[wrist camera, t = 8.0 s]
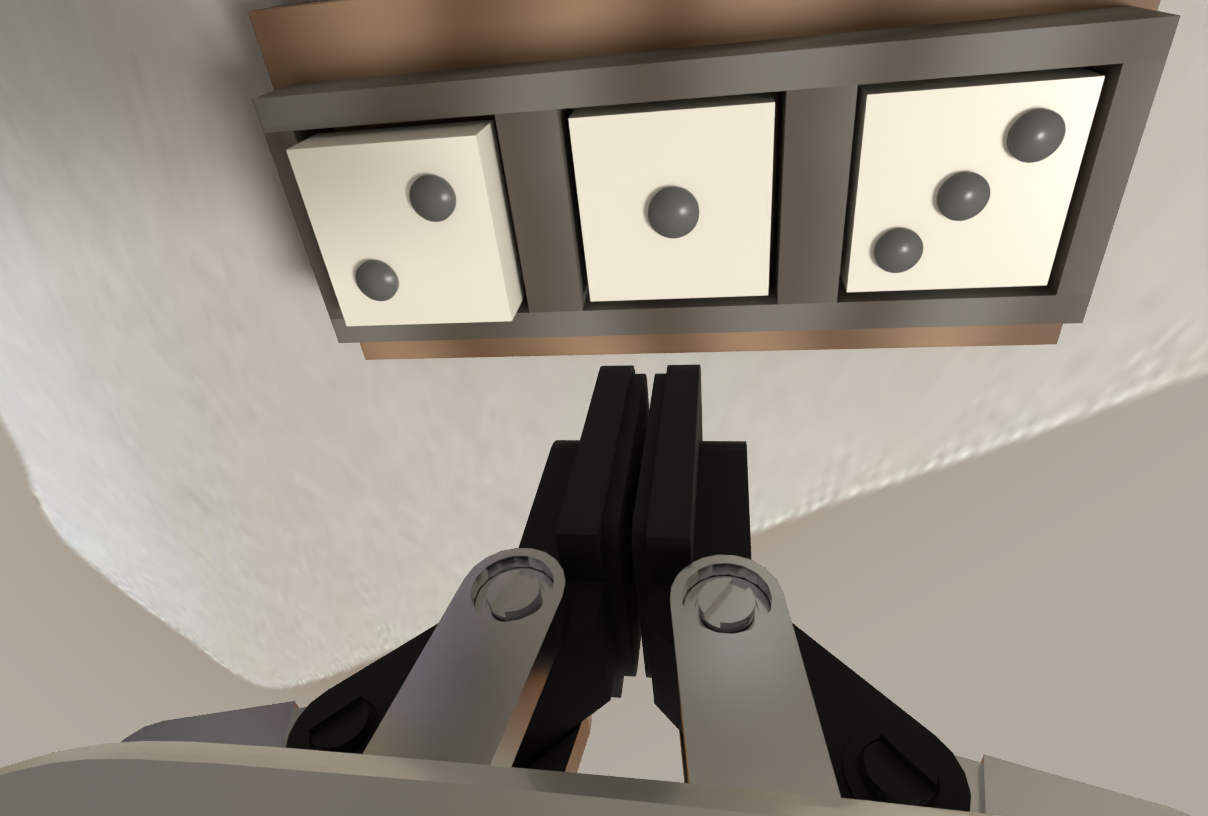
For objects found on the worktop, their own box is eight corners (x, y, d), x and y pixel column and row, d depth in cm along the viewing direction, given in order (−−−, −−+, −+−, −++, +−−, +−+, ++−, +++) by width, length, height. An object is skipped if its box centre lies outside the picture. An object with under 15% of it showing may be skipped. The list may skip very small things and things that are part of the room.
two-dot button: (493, 119, 22) (473, 137, 20) (524, 295, 25) (510, 323, 23) (316, 133, 23) (282, 151, 21) (369, 301, 26) (344, 329, 24)
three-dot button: (1072, 63, 20) (1108, 77, 18) (1023, 260, 23) (1049, 288, 22) (855, 81, 21) (868, 96, 19) (837, 267, 24) (847, 294, 23)
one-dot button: (770, 88, 21) (775, 103, 20) (764, 270, 25) (768, 297, 23) (578, 104, 22) (567, 120, 21) (598, 277, 26) (589, 304, 24)
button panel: (1149, -93, 20) (1249, -96, 16) (1036, 318, 27) (1086, 381, 23) (279, 5, 24) (201, 20, 20) (383, 336, 31) (339, 391, 28)
